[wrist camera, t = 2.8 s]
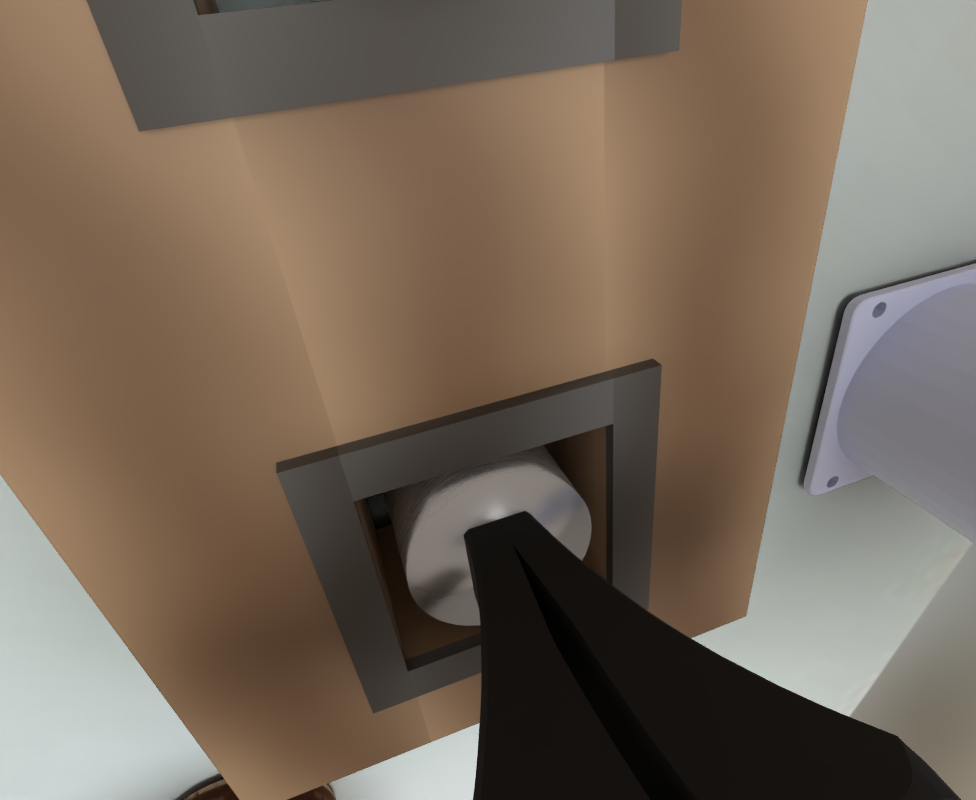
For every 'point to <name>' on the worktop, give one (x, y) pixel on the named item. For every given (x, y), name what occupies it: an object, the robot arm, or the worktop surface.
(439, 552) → the metal peg
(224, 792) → the coffee cup
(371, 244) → the socket block
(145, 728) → the worktop surface
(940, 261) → the worktop surface
